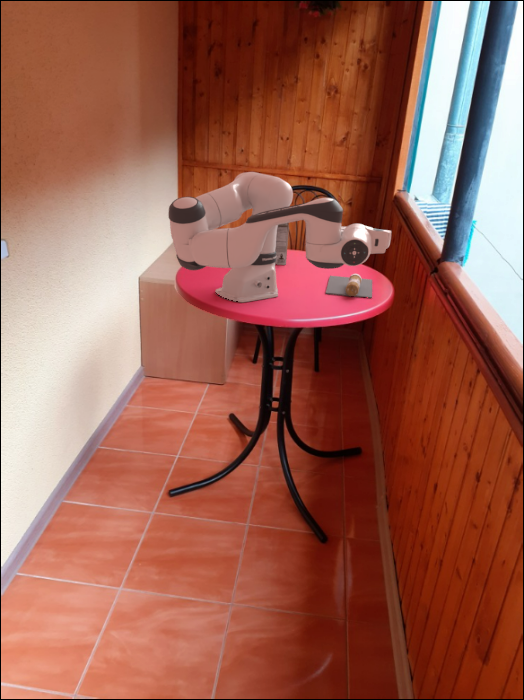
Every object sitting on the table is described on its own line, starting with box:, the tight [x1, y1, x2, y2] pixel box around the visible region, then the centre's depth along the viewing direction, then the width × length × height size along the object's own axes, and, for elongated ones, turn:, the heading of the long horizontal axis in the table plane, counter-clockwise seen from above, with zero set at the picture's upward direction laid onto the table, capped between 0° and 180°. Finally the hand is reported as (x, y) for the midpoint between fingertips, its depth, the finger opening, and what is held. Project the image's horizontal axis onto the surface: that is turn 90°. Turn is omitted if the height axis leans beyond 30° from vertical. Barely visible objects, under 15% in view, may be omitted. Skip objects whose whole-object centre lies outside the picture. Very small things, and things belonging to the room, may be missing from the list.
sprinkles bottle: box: [346, 273, 363, 297], centre depth 200 cm, size 5×5×14 cm
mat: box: [325, 275, 373, 299], centre depth 206 cm, size 22×16×1 cm
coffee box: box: [275, 222, 290, 266], centre depth 231 cm, size 9×6×16 cm
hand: (357, 230), depth 175 cm, fingers closed
